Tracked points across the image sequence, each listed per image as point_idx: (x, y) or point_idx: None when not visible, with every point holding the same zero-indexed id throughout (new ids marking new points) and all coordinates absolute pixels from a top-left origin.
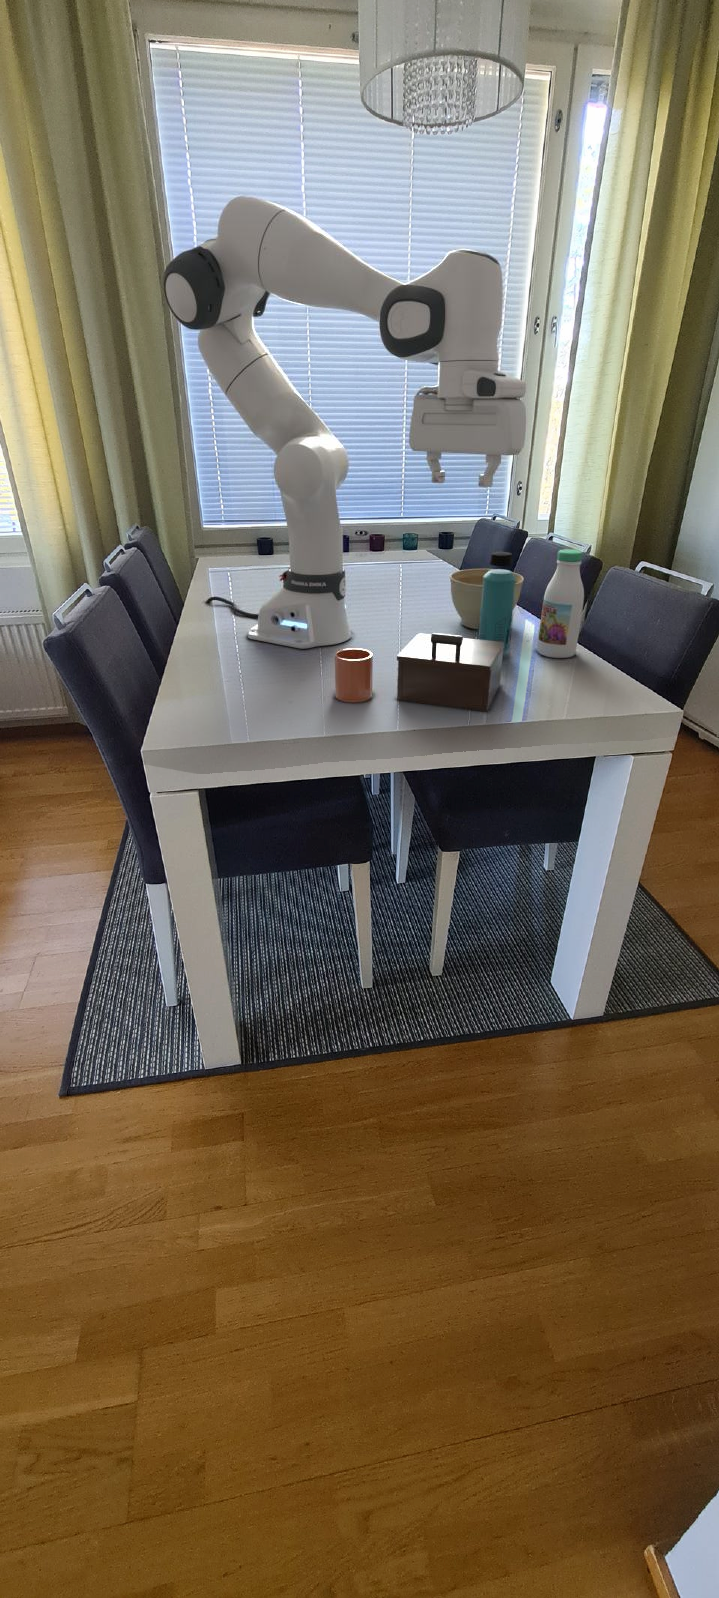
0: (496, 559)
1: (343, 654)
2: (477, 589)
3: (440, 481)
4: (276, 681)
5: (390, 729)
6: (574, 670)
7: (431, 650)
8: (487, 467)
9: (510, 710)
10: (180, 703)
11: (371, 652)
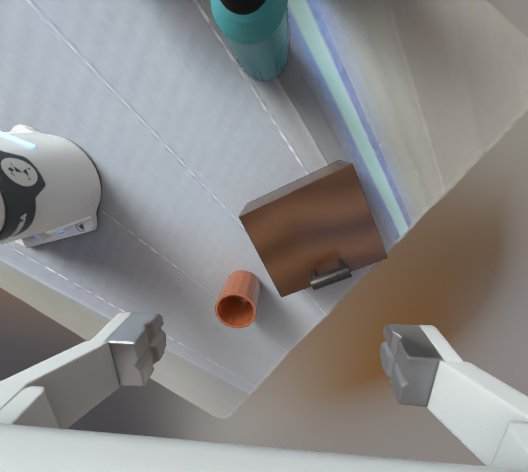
0: (245, 5)
1: (218, 305)
2: None
3: (162, 340)
4: (166, 306)
5: (320, 316)
6: (394, 16)
7: (298, 259)
8: (476, 450)
9: (385, 212)
10: (163, 377)
11: (244, 295)
